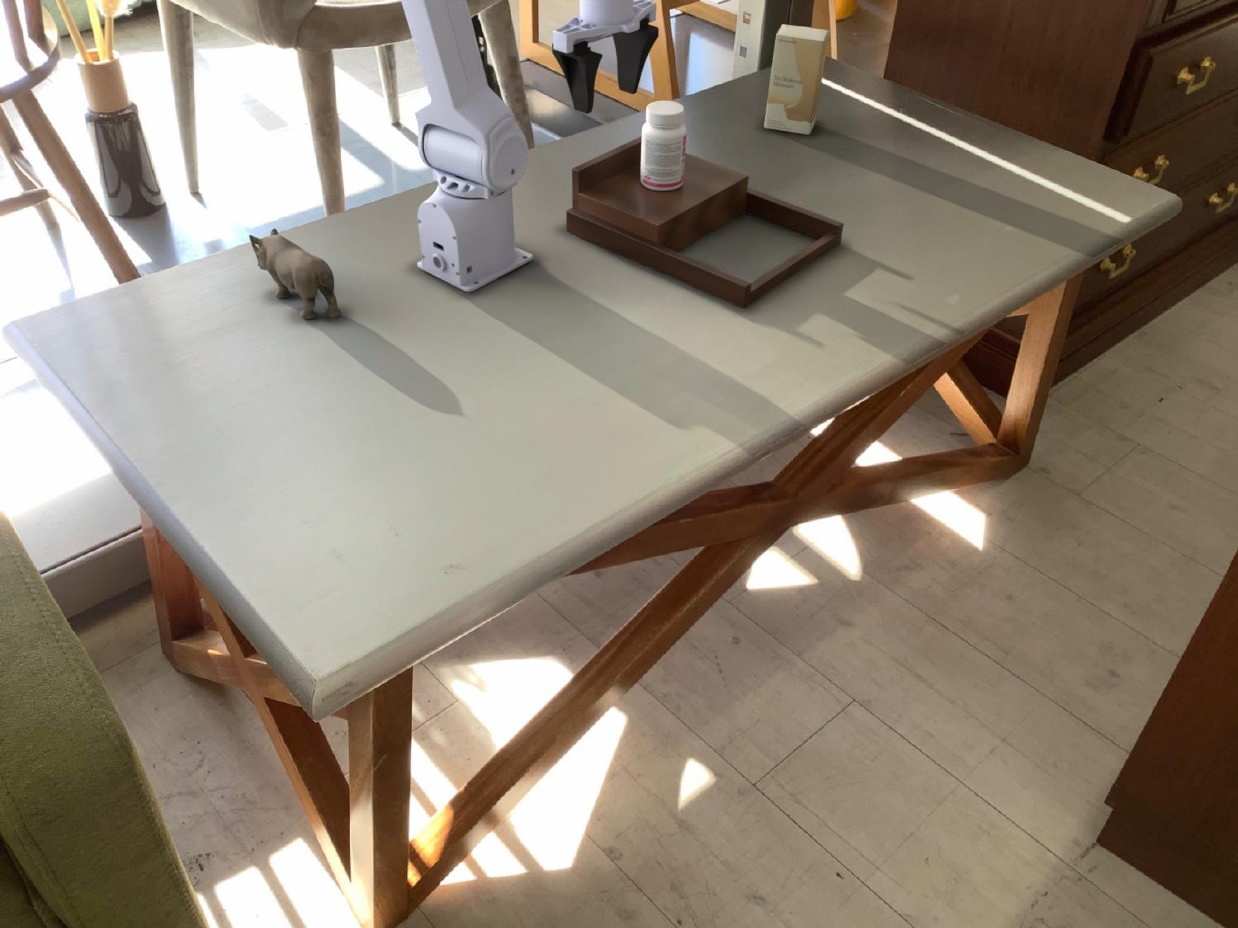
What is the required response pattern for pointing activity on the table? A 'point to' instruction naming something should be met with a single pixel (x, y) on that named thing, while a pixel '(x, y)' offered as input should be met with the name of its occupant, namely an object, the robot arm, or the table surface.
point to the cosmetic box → (796, 78)
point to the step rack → (685, 219)
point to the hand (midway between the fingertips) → (605, 101)
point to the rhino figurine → (296, 272)
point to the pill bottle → (663, 146)
